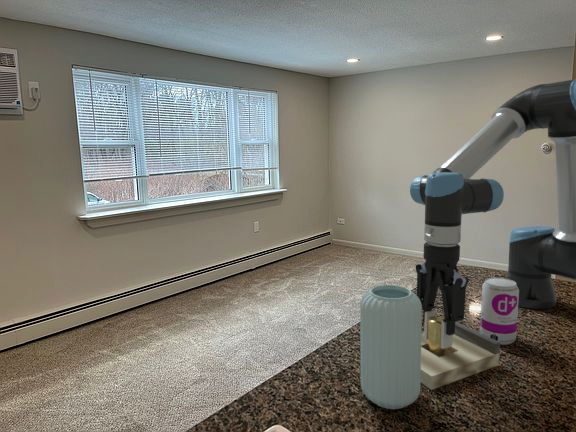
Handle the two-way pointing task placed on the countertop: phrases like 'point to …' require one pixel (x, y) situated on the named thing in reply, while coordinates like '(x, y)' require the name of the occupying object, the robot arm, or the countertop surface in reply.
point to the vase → (390, 346)
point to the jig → (458, 357)
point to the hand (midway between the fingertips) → (437, 342)
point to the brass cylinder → (435, 336)
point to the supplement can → (499, 310)
